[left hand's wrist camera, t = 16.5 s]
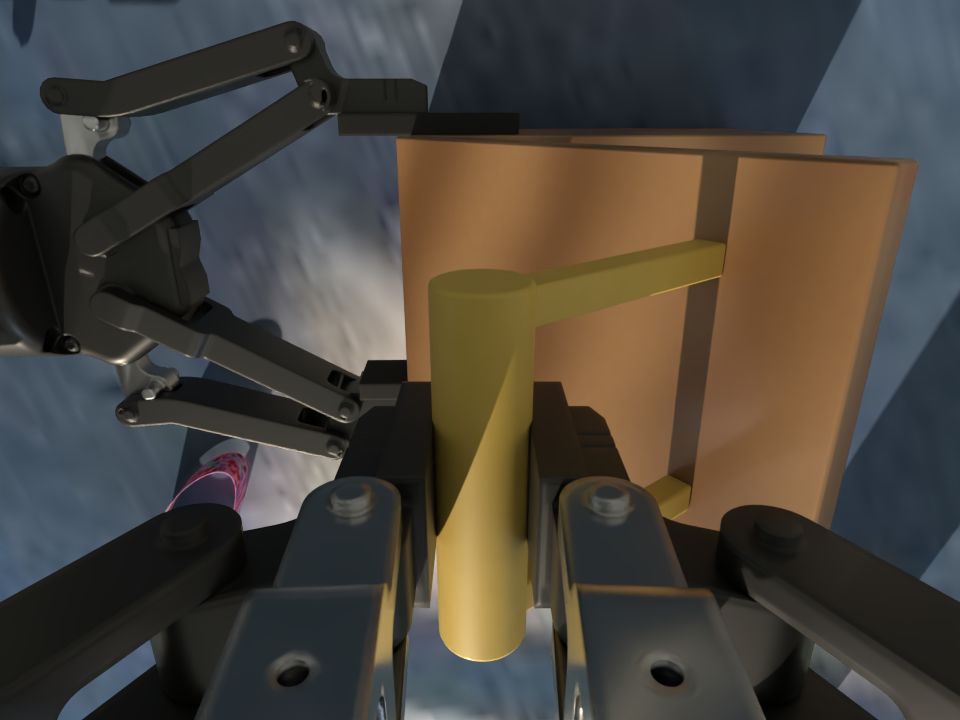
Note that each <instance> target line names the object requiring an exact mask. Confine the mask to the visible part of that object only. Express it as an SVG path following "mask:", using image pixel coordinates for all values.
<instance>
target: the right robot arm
mask: <svg viewBox="0 0 960 720" xmlns="http://www.w3.org/2000/svg"><path fill="white" fill-rule="evenodd" d="M291 71H292V72H293V75H294V77H295V79H296V82H297V84H298V86H299V87H297V88H296V89H294V90H293V91H291V92H290V93H288V94H287V95H285V96H284V97H282V98H280V99H279V100H277V101H276V102H274V103H273V104H271V105H270V106H268V107H267V108H265V109H264V110H262V111H261V112H259V113H258V114H256V115H254V116H253V117H251V118H250V119H248V120H247V121H245V122H244V123H242V124H241V125H239V126H238V127H236V128H235V129H233V130H232V131H230V132H228V133H227V134H225V135H224V136H222V137H221V138H219V139H218V140H216V141H215V142H213V143H212V144H210V145H209V146H207V147H206V148H204V149H202V150H201V151H199V152H198V153H196V154H195V155H193V156H192V157H190V158H189V159H187V160H186V161H184V162H183V163H181V164H180V165H178V166H176V167H175V168H173V169H172V170H170V171H168V172H166V173H164V174H161V175H159V176H158V177H156V178H154V179H152V180H151V181H149V182H147V181H145V180H144V179H142V178H141V177H139V176H138V175H136V174H135V173H133V172H132V171H130V170H128V169H127V168H125V167H124V166H122V165H121V164H119V163H118V162H116V161H115V160H113V159H111V158H110V157H108V156H106V148H107V145H108V144H109V142H110V141H112V140H114V139H118V138H122V137H124V136H126V135H127V133H128V132H129V129H130V126H131V121H130V118H129V117H141V116H150V115H155V114H159V113H163V112H166V111H169V110H172V109H175V108H179V107H182V106H185V105H188V104H191V103H194V102H197V101H200V100H204V99H207V98H210V97H213V96H216V95H219V94H222V93H226V92H229V91H232V90H235V89H238V88H241V87H244V86H248V85H251V84H254V83H257V82H260V81H263V80H266V79H270V78H273V77H276V76H279V75H282V74H285V73H288V72H291ZM40 96H41V99H42V102H43V103H44V105H45V106H46V107H47V108H48V109H49V110H51V111H52V112H54V113H58V114H60V117H61V123H62V129H63V135H64V142H65V148H66V154H67V156H64V157H62V158H60V159H59V160H57V161H56V162H55V163H53V164H51V165H49V166H46V167H0V357H7V356H62V355H76V354H82V355H88V356H92V357H95V358H98V359H100V360H102V361H104V362H106V363H109V364H113V365H115V367H116V371H117V374H118V377H119V380H120V383H121V387H122V390H123V393H124V396H125V400H123V401H122V402H121V403H120V404H119V405H118V406H117V407H116V410H115V413H116V417H117V419H118V420H119V421H120V422H121V423H122V424H124V425H126V426H131V427H137V426H150V425H163V424H176V425H180V426H185V427H189V428H194V429H198V430H203V431H207V432H211V433H216V434H220V435H225V436H229V437H234V438H238V439H243V440H247V441H251V442H256V443H260V444H265V445H269V446H274V447H278V448H282V449H287V450H291V451H296V452H300V453H305V454H309V455H313V456H318V457H322V458H327V459H331V460H338V459H341V458H343V456H344V454H345V451H346V449H347V447H348V444H349V441H350V439H351V436H352V435H353V431H354V429H355V426H356V424H357V421H358V419H359V418H360V417H361V416H362V415H363V414H365V413H366V412H367V411H369V410H370V409H371V408H372V407H374V406H395V405H396V401H397V398H398V394H399V391H400V387H401V384H402V382H403V381H408V374H407V360H368V361H367V364H366V367H365V369H364V372H363V371H362V374H361V376H360V377H359V376H357V375H355V374H352V373H350V372H348V371H346V370H344V369H342V368H340V367H338V366H336V365H334V364H332V363H330V362H328V361H326V360H324V359H322V358H320V357H318V356H316V355H313V354H311V353H309V352H307V351H305V350H303V349H301V348H299V347H297V346H295V345H293V344H291V343H289V342H287V341H285V340H283V339H281V338H279V337H277V336H275V335H272V334H270V333H268V332H266V331H264V330H262V329H260V328H258V327H256V326H254V325H252V324H250V323H248V322H246V321H244V320H242V319H240V318H238V317H236V316H234V315H233V313H232V311H231V310H230V309H229V308H227V307H226V306H224V305H222V304H220V303H218V302H216V301H213V300H211V299H209V298H207V297H205V296H206V295H207V294H209V293H210V291H209V285H208V279H207V275H206V272H205V270H204V268H203V265H202V263H201V261H200V259H199V251H200V241H201V237H200V230H199V224H198V220H192V218H191V216H190V214H189V213H188V210H190V209H191V208H193V207H194V206H196V205H197V204H199V203H201V202H202V201H204V200H205V199H207V198H208V197H210V196H211V195H213V194H214V192H216V191H217V190H219V189H220V188H222V187H223V186H225V185H227V184H228V183H230V182H231V181H233V180H234V179H236V178H238V177H239V176H241V175H242V174H244V173H245V172H247V171H249V170H250V169H252V168H253V167H255V166H256V165H258V164H259V163H261V162H263V161H264V160H266V159H267V158H269V157H270V156H272V155H274V154H275V153H277V152H278V151H280V150H281V149H283V148H285V147H286V146H288V145H289V144H291V143H292V142H294V141H296V140H297V139H299V138H300V137H302V136H303V135H305V134H307V133H308V132H310V131H311V130H313V129H314V128H316V127H318V126H319V125H321V124H322V123H324V122H325V121H327V120H329V119H330V118H332V117H333V116H335V115H338V127H339V136H395V135H516V134H519V113H428V92H427V86H426V85H425V84H422V83H420V82H418V81H415V80H413V79H344V78H342V77H341V76H339V75H338V74H337V73H336V71H335V70H334V68H333V67H332V64H331V62H330V60H329V57H328V55H327V52H326V49H325V42H324V40H323V39H322V37H321V36H320V35H319V34H318V33H317V32H316V31H314V30H312V29H310V28H308V27H307V26H305V25H303V24H301V23H298V22H296V21H288V22H284V23H281V24H278V25H275V26H272V27H269V28H266V29H263V30H260V31H257V32H253V33H250V34H247V35H244V36H241V37H238V38H235V39H232V40H229V41H226V42H223V43H220V44H217V45H214V46H210V47H207V48H204V49H201V50H198V51H195V52H192V53H189V54H186V55H183V56H180V57H177V58H174V59H171V60H167V61H164V62H161V63H158V64H155V65H152V66H149V67H146V68H143V69H140V70H137V71H134V72H131V73H127V74H124V75H121V76H118V77H115V78H112V79H109V80H106V81H94V80H81V79H68V78H55V77H54V78H48V79H46V80H45V81H44V82H43V83H42V85H41V87H40ZM158 344H161V345H163V346H165V347H167V348H169V349H171V350H173V351H176V352H178V353H180V354H182V355H184V356H187V357H191V358H205V359H207V360H209V361H211V362H214V363H216V364H218V365H220V366H222V367H224V368H226V369H228V370H231V371H233V372H235V373H237V374H239V375H241V376H243V377H246V378H248V379H250V380H252V381H254V382H256V383H258V384H261V385H263V386H265V387H267V388H269V389H271V390H273V391H275V392H278V393H280V394H282V395H284V396H286V397H288V398H286V397H281V396H277V395H273V394H269V393H264V392H260V391H256V390H252V389H247V388H243V387H239V386H235V385H230V384H226V383H222V382H218V381H213V380H209V379H204V378H198V377H179V373H178V371H177V370H176V369H175V368H165V367H159V366H157V365H155V364H154V363H152V362H151V360H150V359H149V357H148V355H147V353H148V352H150V351H151V350H152V349H153V348H155V347H156V346H157V345H158Z"/></svg>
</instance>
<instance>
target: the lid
mask: <svg viewBox="0 0 960 720" xmlns="http://www.w3.org/2000/svg"><path fill="white" fill-rule="evenodd" d="M396 145H397V165H398V186H399V207H400V228H401V249H402V270H403V290H404V311H405V332H406V353H407V374H408V381H431V399H432V420H433V431H434V463H435V495H436V527H437V540H436V548H437V578H438V608H439V631H440V635H441V638H442V640H443V641H444V643H445V645H446V646H447V647H448V648H449V649H450V650H451V651H452V652H453V653H455V654H456V655H458V656H460V657H462V658H465V659H468V660H472V661H492V660H497V659H500V658H503V657H505V656H507V655H508V654H510V653H511V652H513V651H514V650H515V649H516V648H517V647H518V646H519V644H520V643H521V641H522V639H523V637H524V635H525V630H526V611H528V610H529V609H531V608H532V607H534V599H533V590H532V581H531V572H530V562H529V553H528V544H527V523H528V492H529V461H530V430H531V422H532V416H533V385H534V381H561V383H562V386H563V389H564V393H565V396H566V399H567V403H568V406H589V407H591V408H592V409H593V410H595V411H596V412H597V413H599V414H600V415H601V416H602V417H604V418H605V420H606V422H607V425H608V427H609V430H610V432H611V435H612V437H613V439H614V442H615V444H616V448H617V449H618V452H619V454H620V457H621V459H622V461H623V464H624V466H625V469H626V471H627V474H628V476H629V479H630V481H631V482H633V483H635V484H637V485H639V486H641V487H643V488H644V489H646V490H647V491H648V492H649V493H650V494H652V496H653V497H654V498H655V499H656V501H657V503H658V506H659V509H660V511H661V514H662V516H663V517H665V518H668V519H670V520H673V521H676V522H679V523H683V524H687V525H692V526H697V527H702V528H707V529H712V530H717V531H719V530H720V524H721V519H722V517H723V515H724V514H725V513H727V512H728V511H729V510H731V509H733V508H736V507H739V506H744V505H767V506H774V507H778V508H783V509H786V510H789V511H792V512H795V513H797V514H800V515H802V516H804V517H806V518H808V519H810V520H812V521H814V522H815V523H817V524H819V525H821V526H823V527H824V528H826V529H828V530H830V528H831V523H832V519H833V515H834V511H835V507H836V503H837V499H838V495H839V490H840V486H841V482H842V478H843V474H844V470H845V466H846V462H847V458H848V453H849V449H850V445H851V441H852V437H853V433H854V429H855V425H856V421H857V416H858V412H859V408H860V404H861V400H862V396H863V392H864V388H865V384H866V379H867V375H868V371H869V367H870V363H871V359H872V355H873V351H874V346H875V342H876V338H877V334H878V330H879V326H880V322H881V318H882V314H883V309H884V305H885V301H886V297H887V293H888V289H889V285H890V281H891V277H892V272H893V268H894V264H895V260H896V256H897V252H898V248H899V244H900V240H901V235H902V231H903V227H904V223H905V219H906V215H907V211H908V207H909V202H910V198H911V194H912V190H913V186H914V182H915V178H916V174H917V170H918V165H919V164H918V161H917V160H915V159H905V158H883V157H862V156H840V155H819V154H797V153H775V152H754V151H732V150H710V149H689V148H667V147H646V146H624V145H602V144H581V143H559V142H537V141H516V140H494V139H472V138H451V137H429V136H399V137H397V138H396Z"/></svg>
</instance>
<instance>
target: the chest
mask: <svg viewBox="0 0 960 720" xmlns="http://www.w3.org/2000/svg"><path fill="white" fill-rule="evenodd" d="M411 136H429V137H451V138H472V139H494V140H516V141H537V142H559V143H581V144H602V145H624V146H646V147H667V148H689V149H710V150H732V151H754V152H775V153H797V154H819V155H823V152H824V146H825V141H826V135H825V134H811V133H794V132H777V131H761V130H744V129H733V128H625V129H519V134H516V135H411Z"/></svg>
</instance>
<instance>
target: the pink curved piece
mask: <svg viewBox="0 0 960 720" xmlns="http://www.w3.org/2000/svg"><path fill="white" fill-rule="evenodd" d="M213 473H224V474H227V475H228V476H230V477H231V479H232V480H233V482H234V486H235V502H234V510H235V511H236V512H237V513H238V514H239V513H240V509H241V506H242V503H243V499H244V495H245V491H246V486H247V479H248V466H247V462H246V460H245V458H244V457H243V456H242V455H241V454H239V453H234V452H233V453H226V454H222V455H220V456H217V457H215V458H214V459H212V460H210V461H209V462H207V463H206V464H205V465H203V466H202V467H201V468H200V469H199V470H197V471H196V472H195V473H194V474H193V475H192V477H191V478H190V479H189V480H188V481H187V483H186V484H185V485H184V486H183V488H182V489H181V490H180V492H179V493H178V494H177V496H176V497H175V498H174V500H173V501H172V502H171V504H170V505H169V507H168V508H167V509H166V511H165V512H167V511H169V510H172V508H173V505H174V503H175V501H176V499H177V497H178V496H179V494H180V493H181V492H183V491H184V490H185V489H186V488H187V487H188V486H189V485H191V484H192V483H194V482H195V481H197V480H198V479H200V478H202V477H204V476H207V475H209V474H213Z"/></svg>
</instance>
